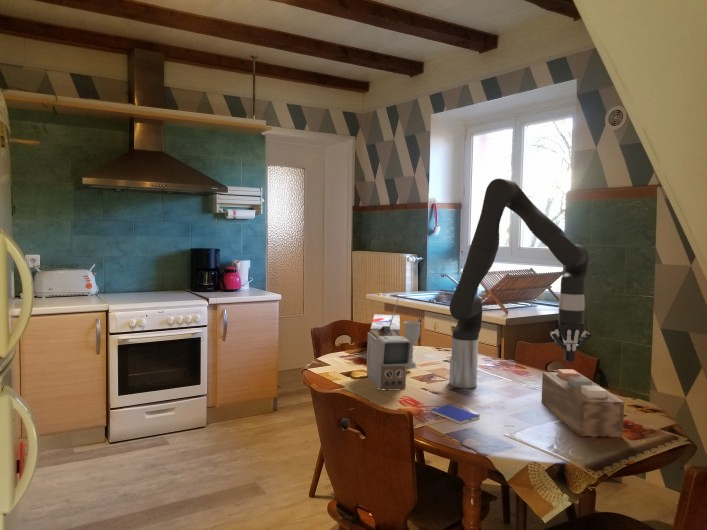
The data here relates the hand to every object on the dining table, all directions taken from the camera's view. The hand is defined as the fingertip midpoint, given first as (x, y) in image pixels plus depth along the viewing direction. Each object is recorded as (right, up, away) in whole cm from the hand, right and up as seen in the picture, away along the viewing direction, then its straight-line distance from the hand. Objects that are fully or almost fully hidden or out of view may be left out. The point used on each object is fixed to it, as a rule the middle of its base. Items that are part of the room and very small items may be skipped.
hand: (569, 361), depth 178 cm
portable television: (-56, -12, +25) cm, 62 cm away
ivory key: (0, -9, -17) cm, 20 cm away
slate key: (0, -9, -8) cm, 12 cm away
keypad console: (0, -16, -8) cm, 18 cm away
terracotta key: (0, -8, +1) cm, 8 cm away
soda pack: (-54, -8, +78) cm, 96 cm away
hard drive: (-38, -16, -7) cm, 41 cm away
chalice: (-45, -11, +49) cm, 68 cm away
